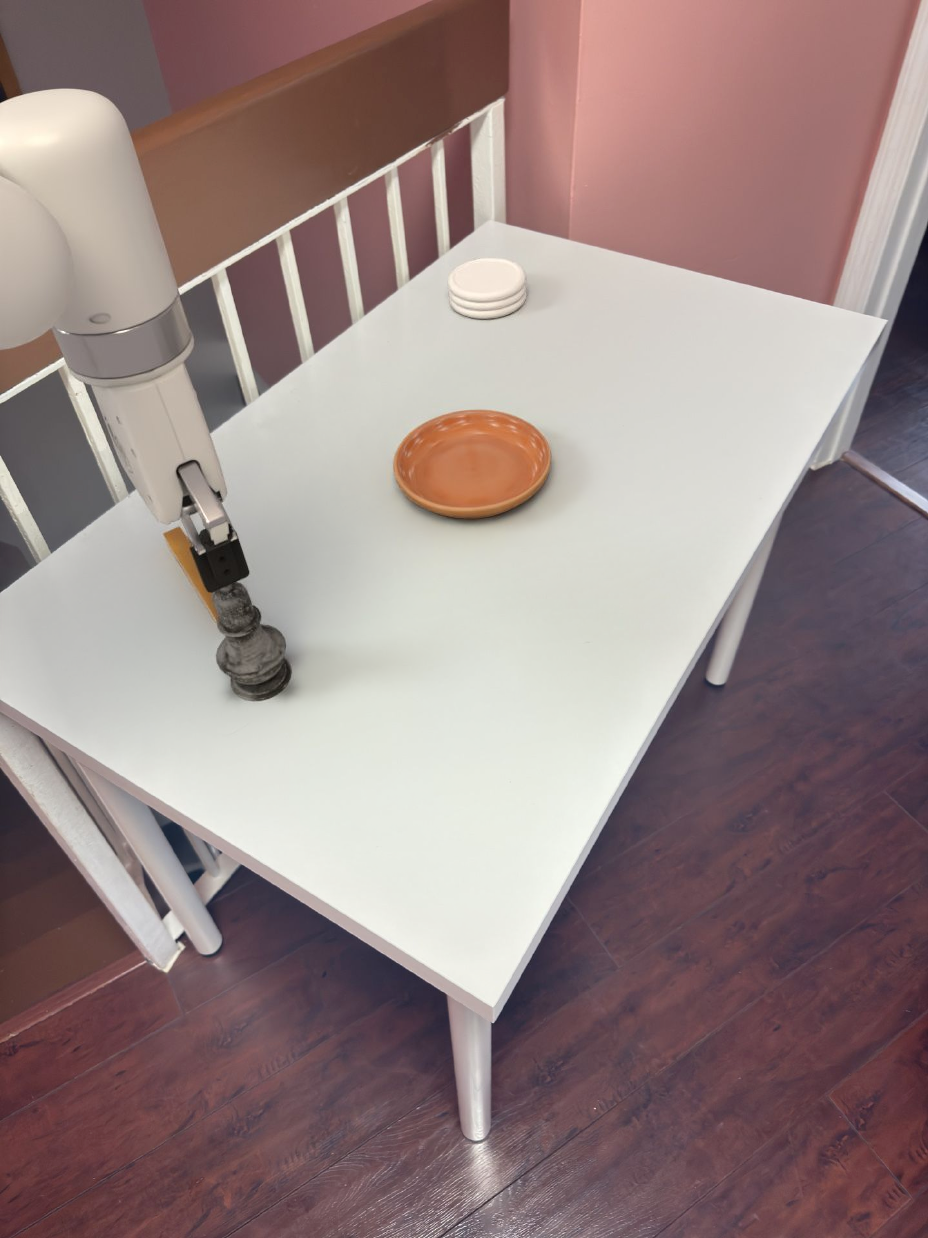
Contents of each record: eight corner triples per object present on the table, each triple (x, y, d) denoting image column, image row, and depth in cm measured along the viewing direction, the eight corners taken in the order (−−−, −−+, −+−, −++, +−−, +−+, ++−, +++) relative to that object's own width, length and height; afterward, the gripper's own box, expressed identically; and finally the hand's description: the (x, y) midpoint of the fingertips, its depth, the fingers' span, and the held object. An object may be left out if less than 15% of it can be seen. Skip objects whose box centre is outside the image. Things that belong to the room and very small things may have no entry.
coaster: (441, 318, 116) (438, 293, 113) (459, 279, 122) (456, 254, 119) (519, 322, 114) (518, 296, 111) (532, 282, 120) (532, 256, 117)
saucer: (575, 505, 90) (575, 482, 88) (420, 548, 88) (417, 525, 85) (519, 417, 101) (518, 394, 98) (380, 453, 98) (376, 430, 96)
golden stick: (221, 631, 82) (215, 618, 81) (168, 546, 91) (162, 533, 89) (239, 623, 83) (234, 609, 82) (185, 538, 91) (179, 525, 90)
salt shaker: (260, 715, 76) (220, 619, 67) (213, 683, 78) (168, 587, 70) (309, 669, 79) (277, 571, 70) (261, 640, 81) (225, 542, 72)
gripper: (24, 294, 58) (116, 502, 70) (106, 421, 48) (197, 639, 60) (137, 259, 60) (207, 466, 73) (238, 372, 50) (299, 591, 63)
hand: (202, 544), depth 66 cm, fingers open, 9 cm apart
